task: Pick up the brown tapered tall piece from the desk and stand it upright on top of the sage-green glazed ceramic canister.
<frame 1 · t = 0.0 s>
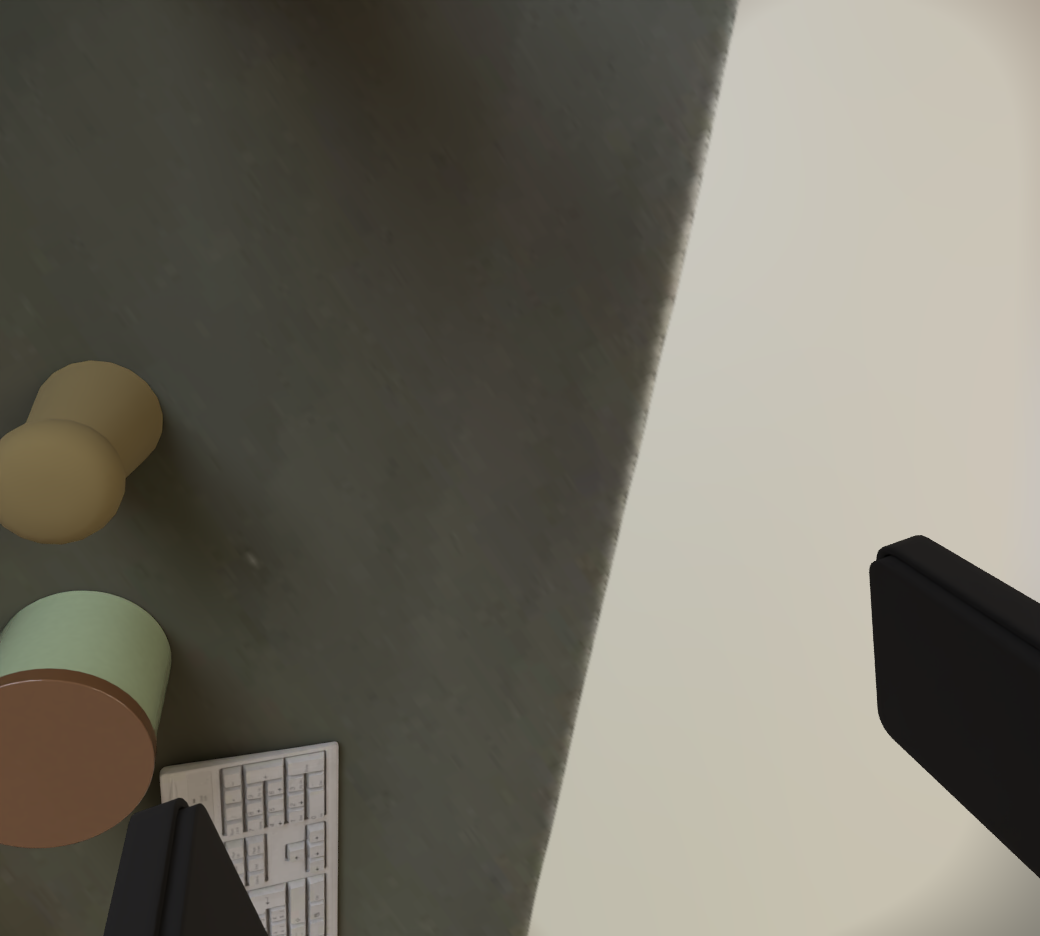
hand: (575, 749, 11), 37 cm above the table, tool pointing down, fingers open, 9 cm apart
keyboard: (258, 925, 57), on the table
brown tapered tall piece: (100, 417, 43), on the table
canister: (85, 661, 47), on the table
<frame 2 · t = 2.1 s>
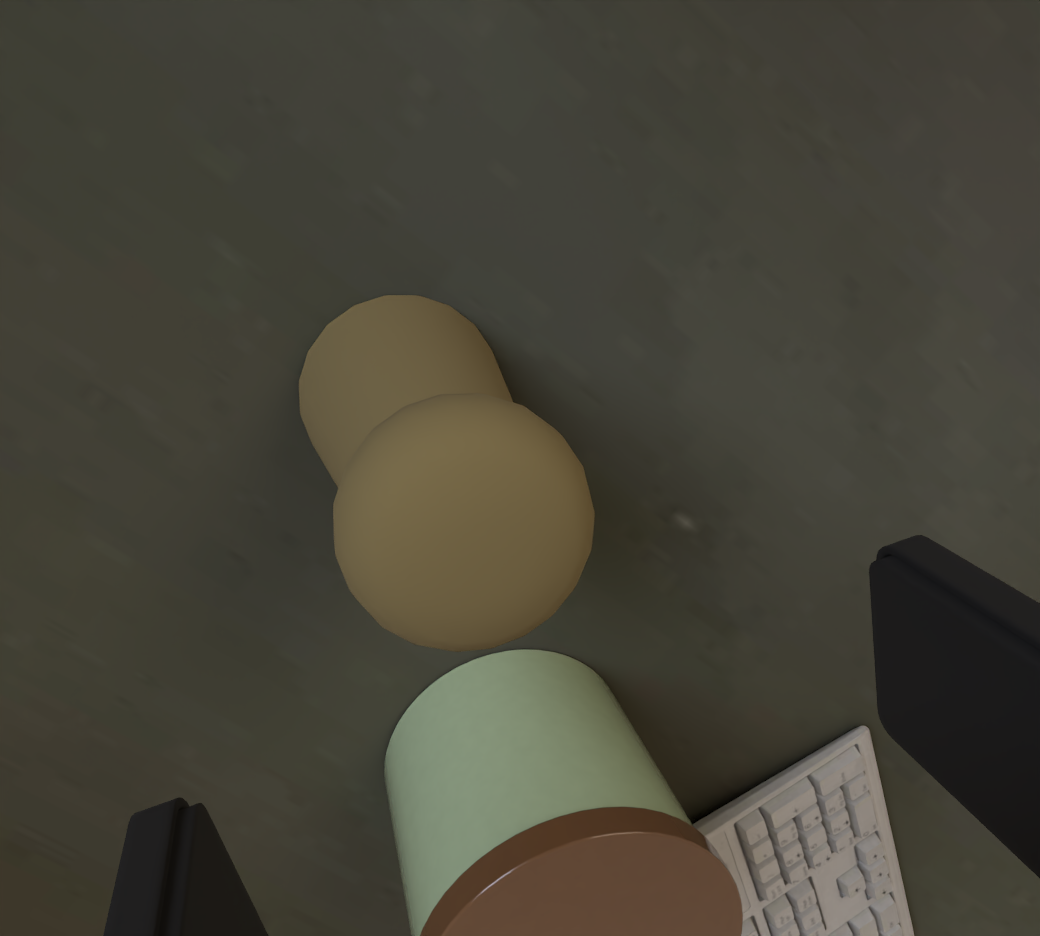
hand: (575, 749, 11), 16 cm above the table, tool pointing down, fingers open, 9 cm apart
brown tapered tall piece: (401, 393, 25), on the table
canister: (506, 753, 31), on the table
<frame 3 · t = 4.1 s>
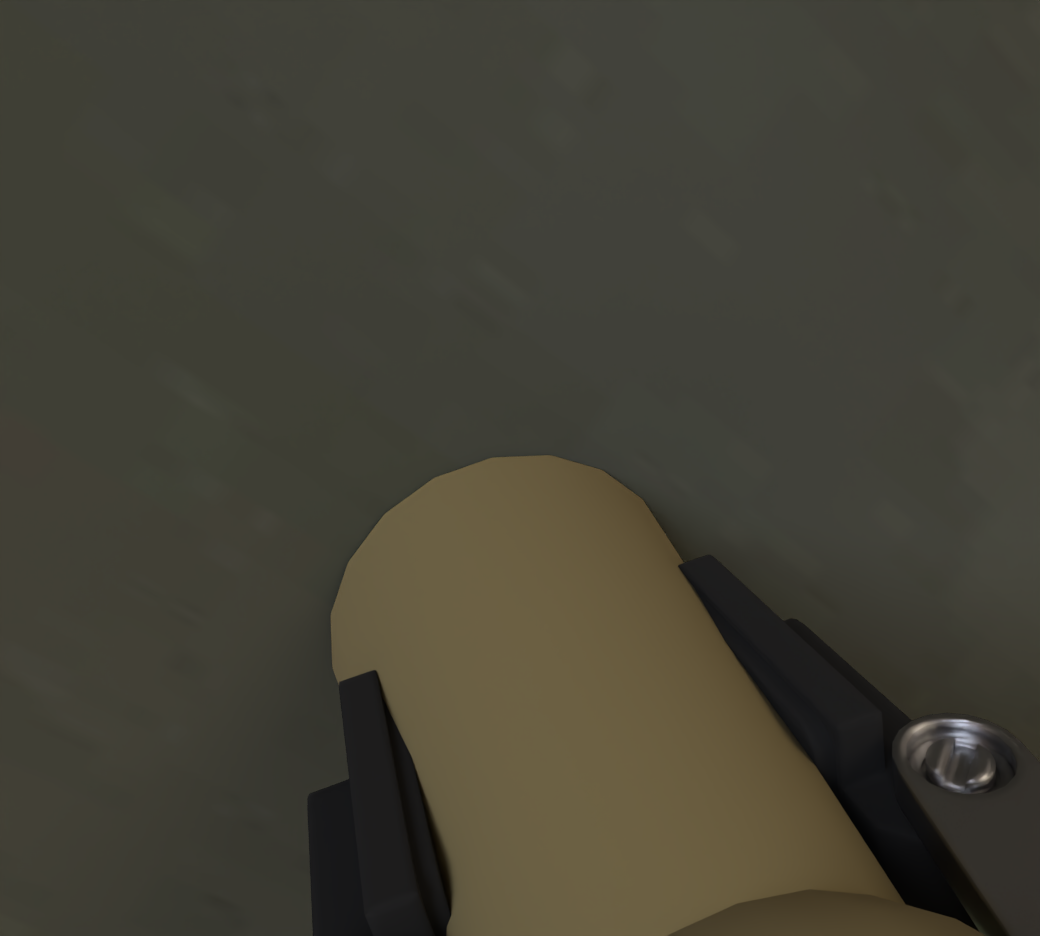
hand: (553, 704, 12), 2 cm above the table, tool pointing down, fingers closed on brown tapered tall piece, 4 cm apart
brown tapered tall piece: (509, 618, 14), on the table, touching gripper
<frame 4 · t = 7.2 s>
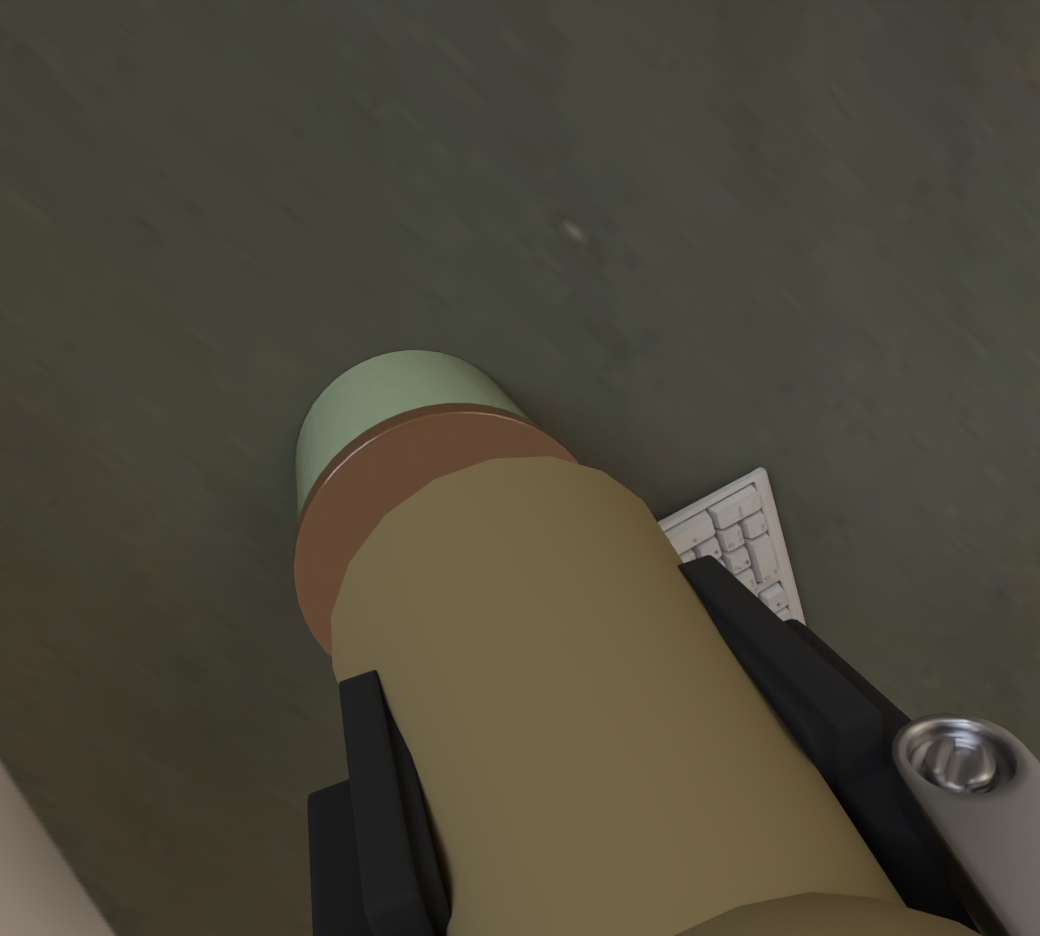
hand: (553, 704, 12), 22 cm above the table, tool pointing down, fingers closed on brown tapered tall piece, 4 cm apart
keyboard: (732, 744, 43), on the table
brown tapered tall piece: (510, 619, 14), point 19 cm above the table, touching gripper
canister: (413, 462, 33), on the table
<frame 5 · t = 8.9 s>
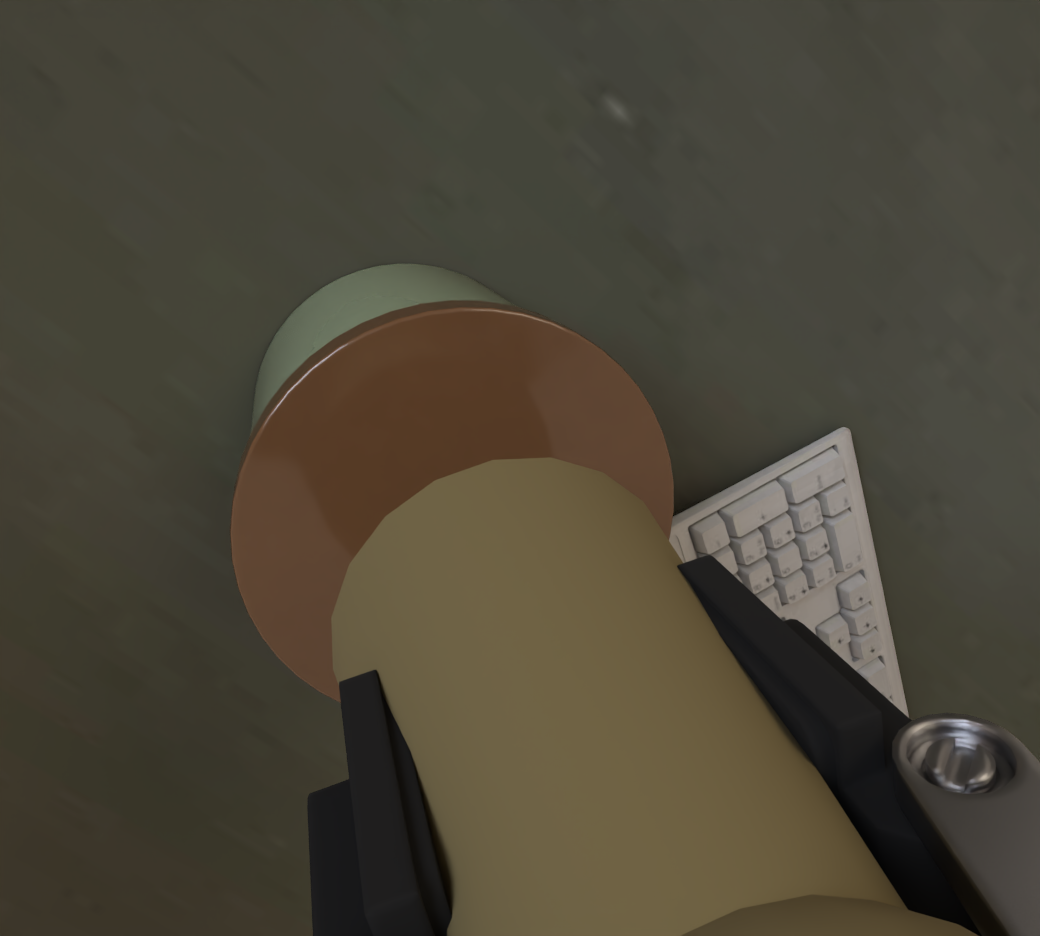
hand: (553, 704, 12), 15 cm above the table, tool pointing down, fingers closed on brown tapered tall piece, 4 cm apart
keyboard: (796, 769, 36), on the table
brown tapered tall piece: (510, 620, 14), point 13 cm above the table, touching gripper
canister: (407, 413, 26), on the table
when the fingers open (11 cm above the table, at t = 10.1 s): brown tapered tall piece stays where it is, resting on canister.
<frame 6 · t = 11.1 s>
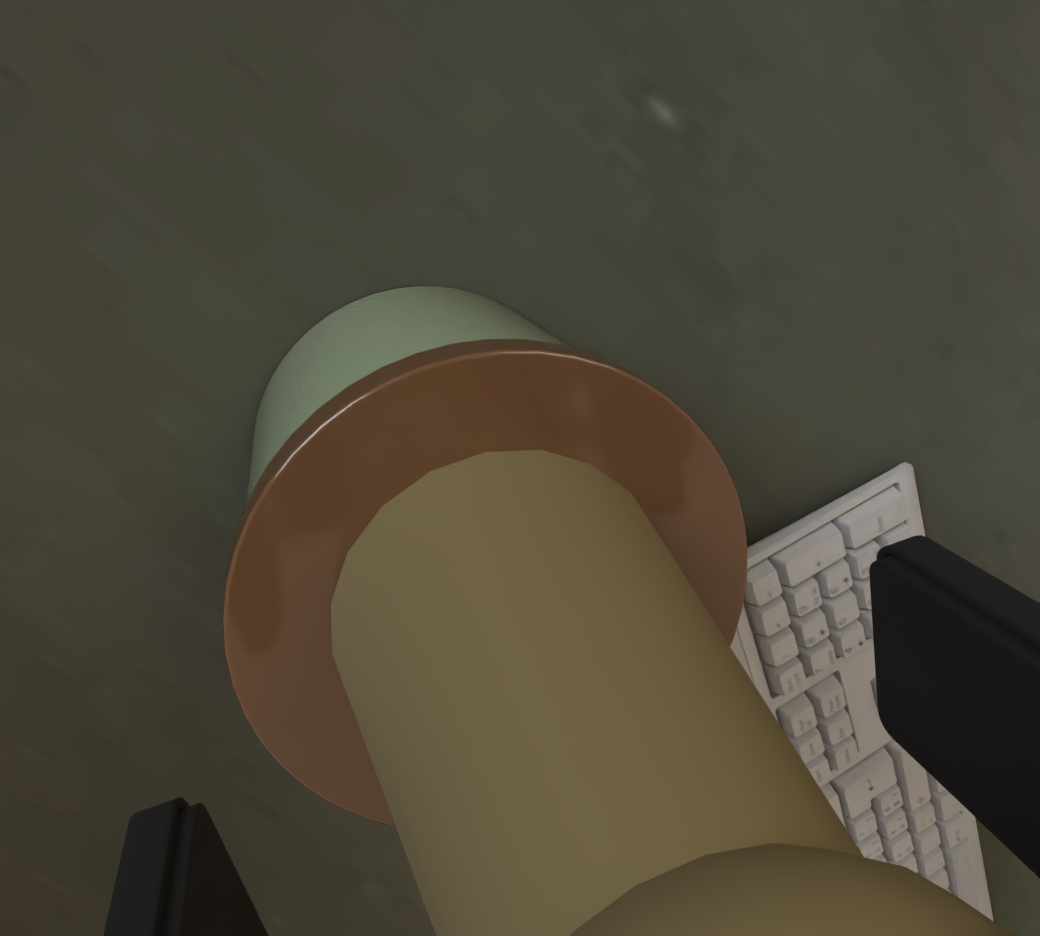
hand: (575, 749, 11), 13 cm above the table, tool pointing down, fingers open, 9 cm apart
keyboard: (844, 830, 33), on the table
brown tapered tall piece: (503, 607, 15), point 9 cm above the table, touching canister
canister: (426, 453, 23), on the table
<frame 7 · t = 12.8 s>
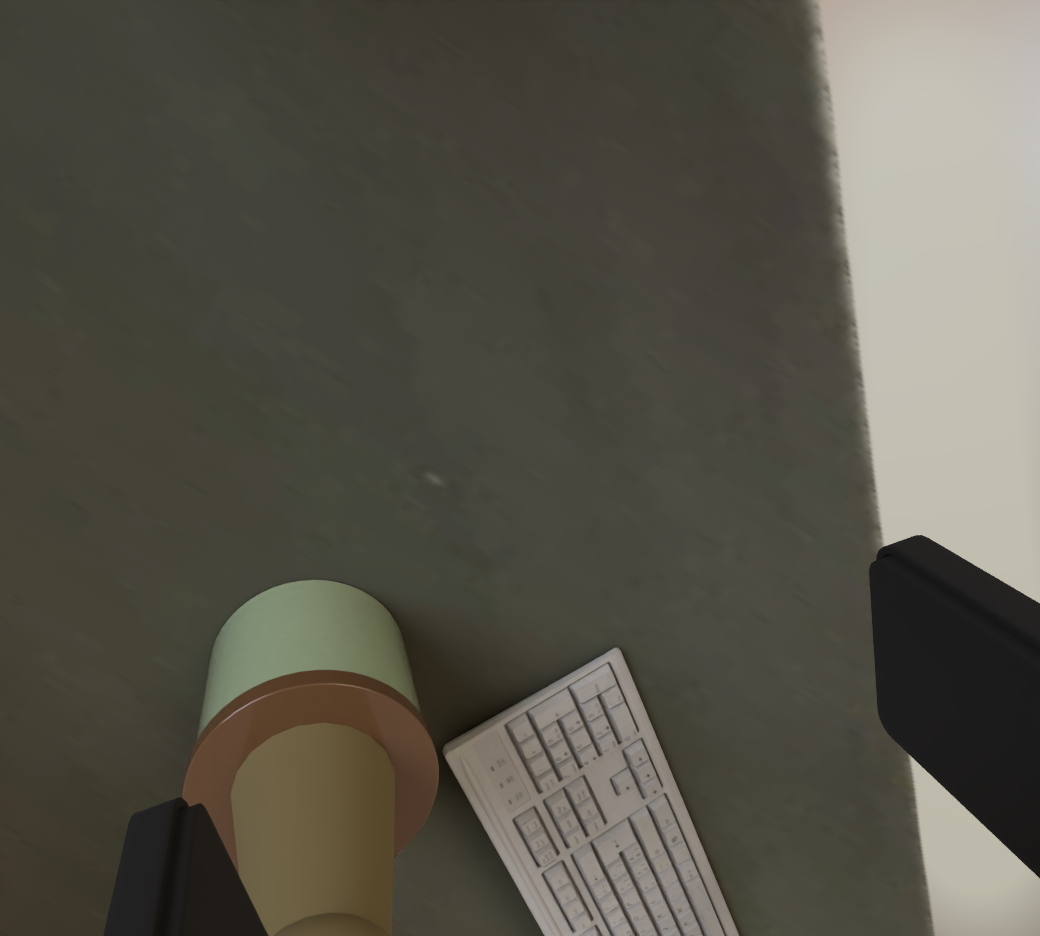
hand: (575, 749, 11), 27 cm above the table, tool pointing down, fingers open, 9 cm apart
keyboard: (616, 871, 49), on the table
brown tapered tall piece: (315, 788, 32), point 9 cm above the table, touching canister
canister: (310, 665, 40), on the table
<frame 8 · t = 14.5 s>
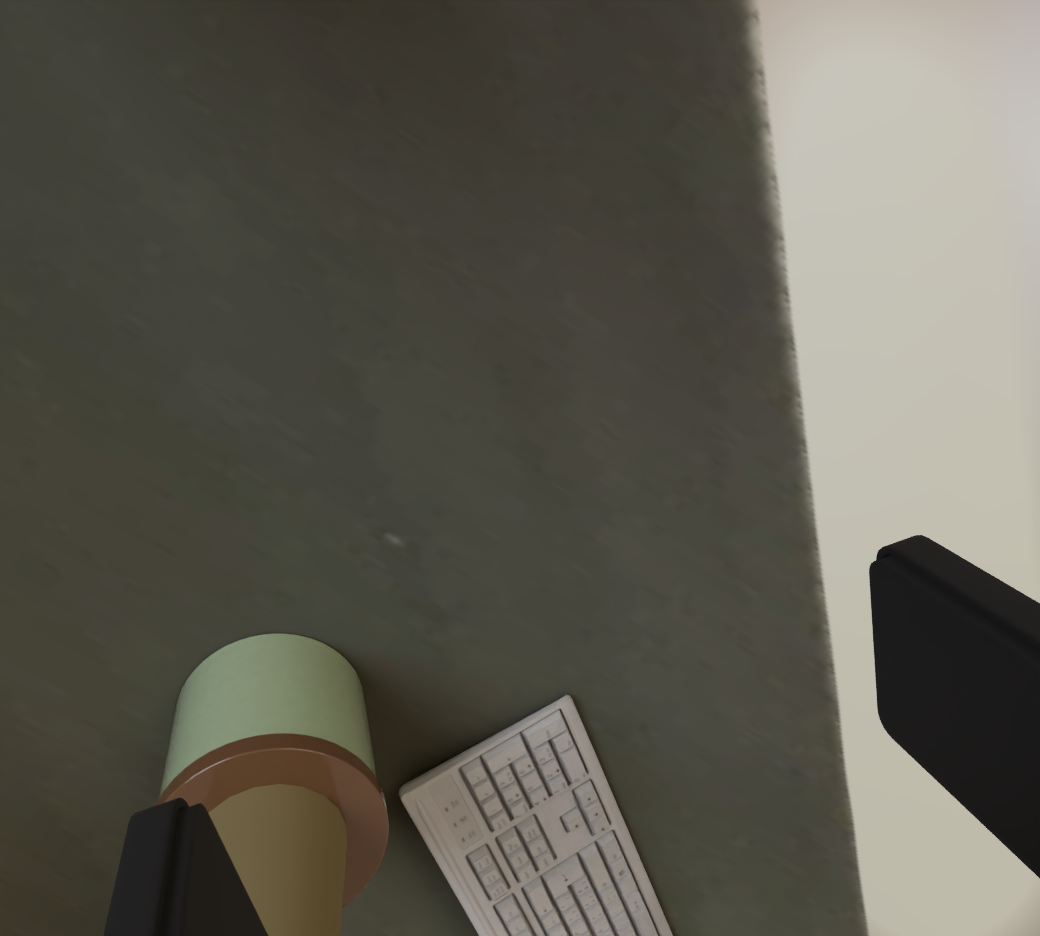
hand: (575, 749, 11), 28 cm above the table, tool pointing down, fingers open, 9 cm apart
keyboard: (566, 901, 52), on the table
brown tapered tall piece: (270, 842, 34), point 9 cm above the table, touching canister
canister: (272, 712, 42), on the table
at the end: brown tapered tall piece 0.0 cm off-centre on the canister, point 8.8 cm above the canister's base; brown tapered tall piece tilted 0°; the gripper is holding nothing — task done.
